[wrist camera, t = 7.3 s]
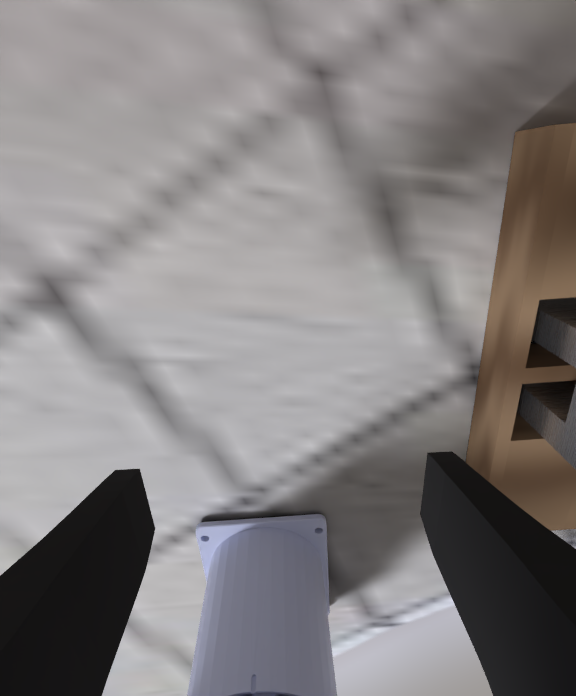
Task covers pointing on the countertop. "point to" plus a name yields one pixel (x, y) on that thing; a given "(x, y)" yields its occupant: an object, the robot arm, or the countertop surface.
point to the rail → (528, 327)
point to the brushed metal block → (554, 397)
